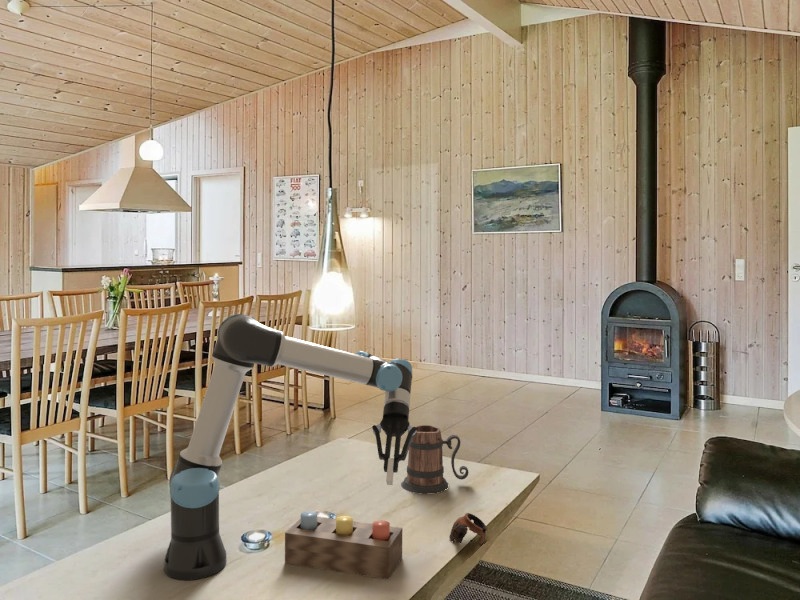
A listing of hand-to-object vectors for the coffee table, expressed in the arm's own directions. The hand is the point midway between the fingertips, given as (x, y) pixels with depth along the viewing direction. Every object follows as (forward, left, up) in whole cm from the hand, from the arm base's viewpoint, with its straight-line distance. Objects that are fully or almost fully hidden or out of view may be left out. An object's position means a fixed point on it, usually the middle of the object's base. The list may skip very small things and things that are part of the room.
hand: (389, 482), depth 169 cm
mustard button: (-9, -9, -12) cm, 18 cm away
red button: (+1, -9, -12) cm, 15 cm away
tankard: (+1, +52, -19) cm, 55 cm away
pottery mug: (+19, +11, -19) cm, 29 cm away
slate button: (-19, -9, -12) cm, 24 cm away
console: (-9, -9, -18) cm, 23 cm away
